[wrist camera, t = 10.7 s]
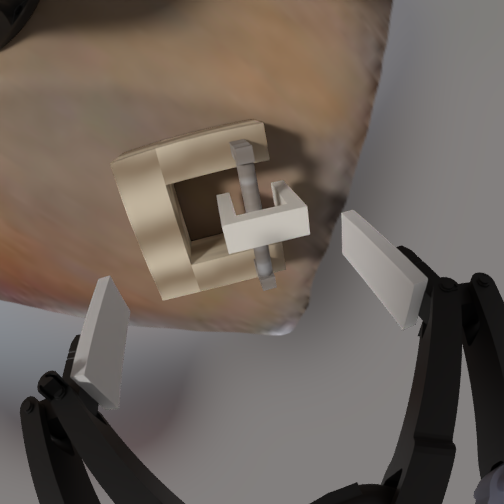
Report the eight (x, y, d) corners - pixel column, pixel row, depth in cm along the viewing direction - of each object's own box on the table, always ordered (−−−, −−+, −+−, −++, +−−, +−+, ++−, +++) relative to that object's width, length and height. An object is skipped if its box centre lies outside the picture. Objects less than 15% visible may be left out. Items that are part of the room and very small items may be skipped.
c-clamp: (123, 153, 31) (97, 174, 22) (252, 119, 32) (274, 127, 23) (165, 274, 40) (161, 324, 31) (274, 246, 41) (296, 290, 33)
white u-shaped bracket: (216, 195, 33) (221, 226, 26) (283, 180, 33) (307, 206, 26) (222, 218, 35) (228, 254, 27) (286, 203, 35) (310, 234, 28)
